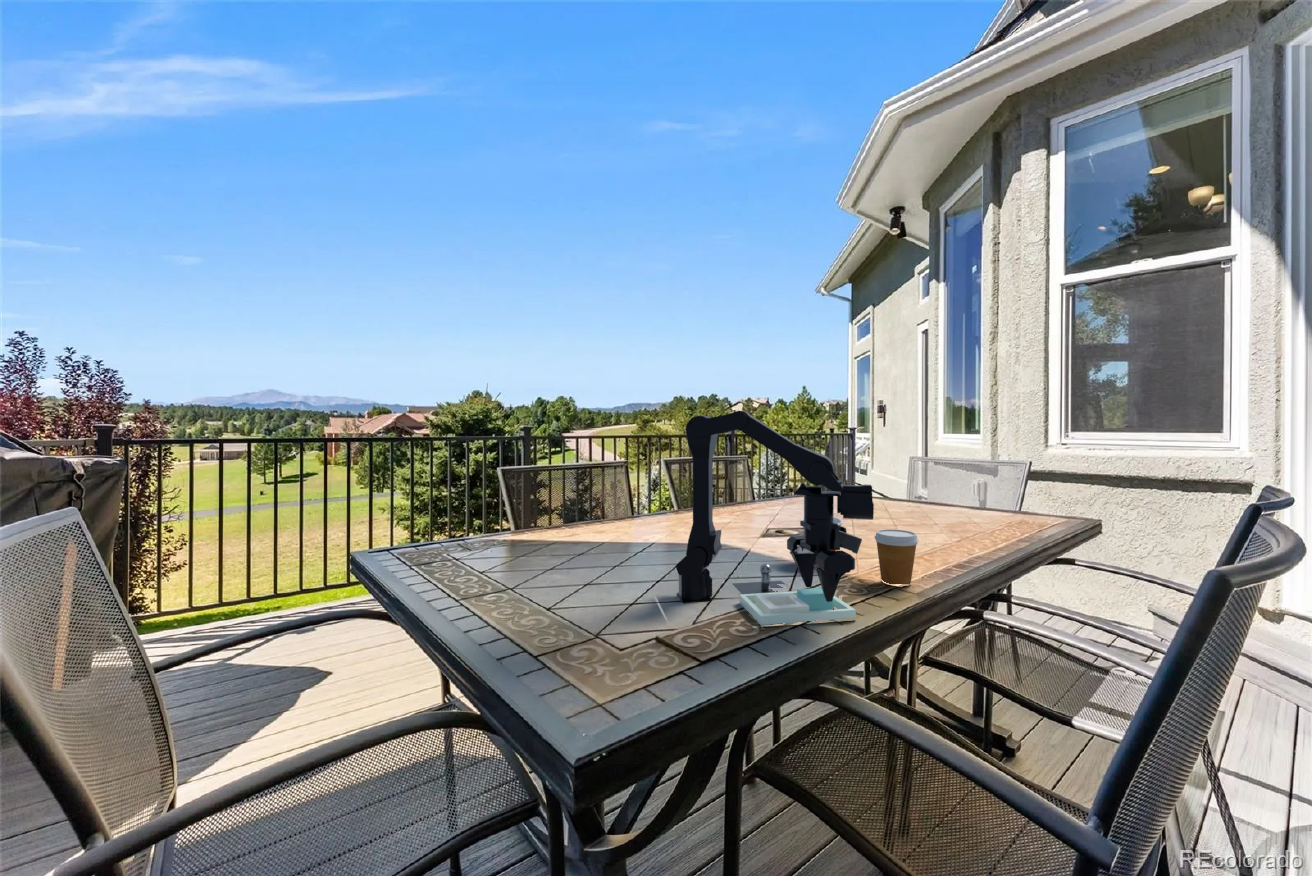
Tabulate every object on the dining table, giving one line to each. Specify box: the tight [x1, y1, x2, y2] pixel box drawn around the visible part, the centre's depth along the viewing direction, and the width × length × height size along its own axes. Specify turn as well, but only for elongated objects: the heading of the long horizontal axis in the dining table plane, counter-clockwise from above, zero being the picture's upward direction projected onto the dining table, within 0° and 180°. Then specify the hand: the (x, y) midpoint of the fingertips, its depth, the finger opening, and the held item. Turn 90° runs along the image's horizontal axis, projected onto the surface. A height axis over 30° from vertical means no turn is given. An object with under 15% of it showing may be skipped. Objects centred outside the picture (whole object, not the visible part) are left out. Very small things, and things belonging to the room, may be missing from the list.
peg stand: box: [732, 563, 786, 594], centre depth 124 cm, size 12×12×6 cm
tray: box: [739, 590, 857, 625], centre depth 111 cm, size 19×13×2 cm
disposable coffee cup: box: [874, 528, 920, 584], centre depth 129 cm, size 10×10×12 cm
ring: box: [756, 587, 833, 614], centre depth 111 cm, size 14×8×4 cm, turn 99°
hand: (818, 594), depth 111 cm, fingers open, 9 cm apart
